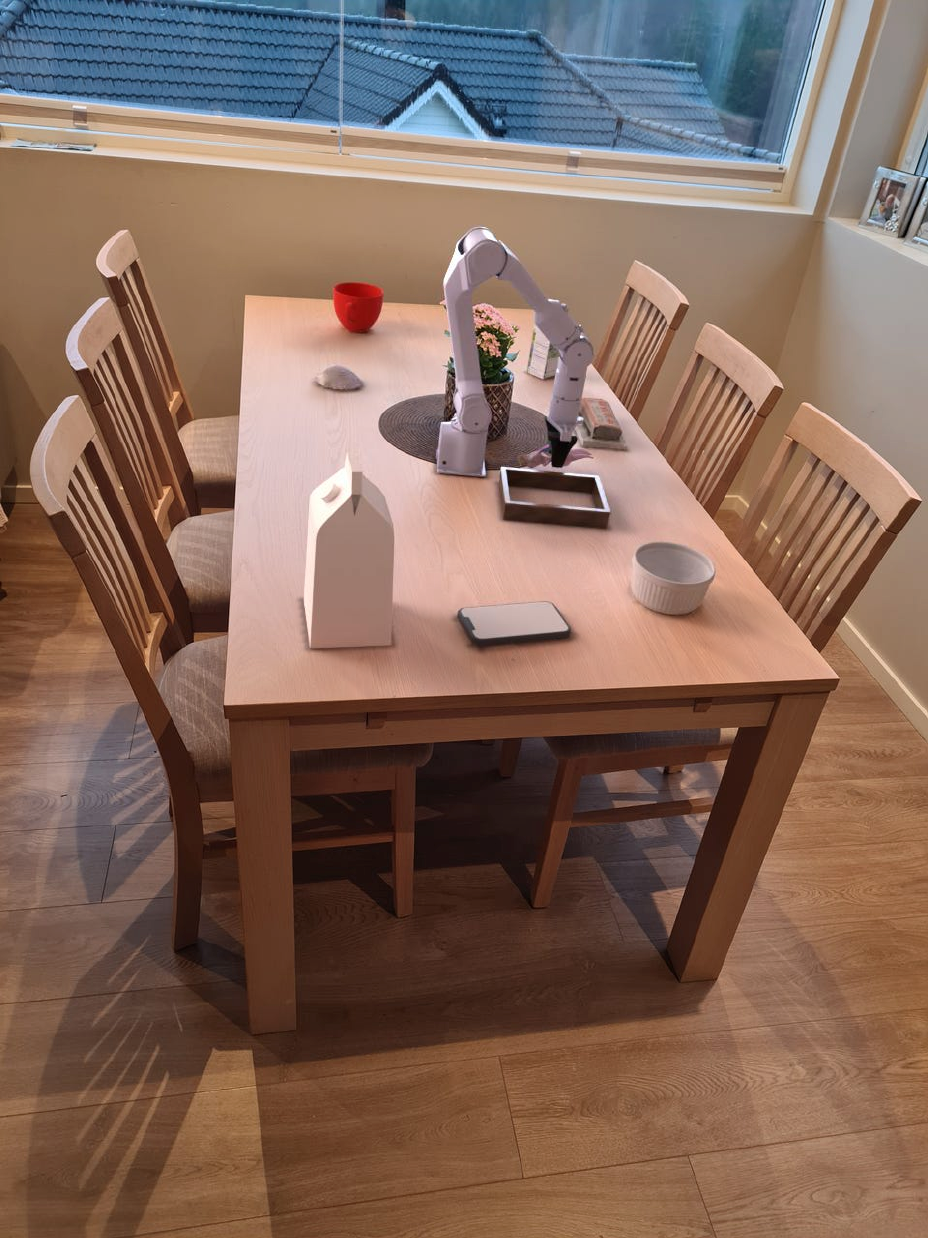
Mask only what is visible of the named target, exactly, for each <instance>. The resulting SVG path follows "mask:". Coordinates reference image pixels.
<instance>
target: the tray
mask: <svg viewBox="0 0 928 1238" xmlns="http://www.w3.org/2000/svg"><path fill="white" fill-rule="evenodd" d="M509 487H514V488H515V487H517V488H527V489H539V490H549V491H550V490H551V491H560V492H571V493H572V492H573V493H582V494H591V495H592V498H593V502H594V505H595V508H594V507H583V506H572V505H561V504H549V503H539V502H538V503H537V502H528V501H513V500H511V497H510V490H509ZM498 490H499V499H500V506H501V514H502V515H501V516H502V520H504V521H513V522H524V523H537V524H546V525H547V524H549V525H557V526H559V525H560V526H571V527H581V528H583V527H584V528H595V529H605V530H606V529H607V528H608V523H609V519H610V515H611V513H612V512H611V508H610V505H609V502H608V500H607V496H606V493H605V490H604V486H603V483H602V480H601V477H600V476H599V475H595V474H584V473H573V472H562V471H554V470H553V471H552V470H551V471H550V470H540V469H532V468H520V467H519V468H518V467H509V466H500V469H499V478H498Z"/></svg>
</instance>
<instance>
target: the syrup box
mask: <svg viewBox="0 0 928 1238" xmlns="http://www.w3.org/2000/svg"><path fill="white" fill-rule="evenodd" d="M529 348H530V350H529V355H528V360H527V367H526V374H529V375H531V376H533V377H536V378H538V379H541V380H547V379H550V378H555V374H556V370H557V366H558V360H559V356H561V355H560V353H558V352H557V349H556V348H554V347H553V345H552V344H551V343H550V342H549V340H548V339H547V338H546V337H545V335H544V334H543V333H542V332H541V330H540V329H539V328H538V327H537V325H536V324H535V323H534V326H533V331H532V337H531V342H530V347H529ZM561 357H562V356H561Z"/></svg>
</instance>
